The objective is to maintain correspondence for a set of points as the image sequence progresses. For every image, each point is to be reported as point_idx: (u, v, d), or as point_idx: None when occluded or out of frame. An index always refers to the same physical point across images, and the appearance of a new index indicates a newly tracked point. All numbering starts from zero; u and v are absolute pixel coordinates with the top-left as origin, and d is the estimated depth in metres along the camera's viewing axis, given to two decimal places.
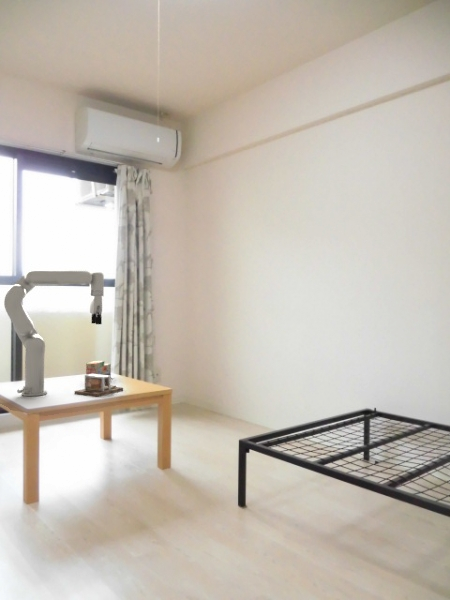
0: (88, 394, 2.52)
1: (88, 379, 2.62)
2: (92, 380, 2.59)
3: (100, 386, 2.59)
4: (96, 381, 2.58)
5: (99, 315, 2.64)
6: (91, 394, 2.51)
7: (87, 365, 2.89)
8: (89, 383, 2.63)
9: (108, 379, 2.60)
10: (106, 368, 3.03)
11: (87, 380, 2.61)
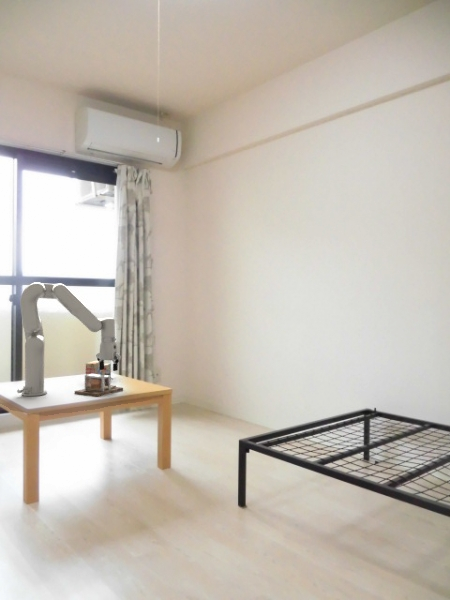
0: (88, 394, 2.52)
1: (88, 379, 2.62)
2: (92, 380, 2.59)
3: (100, 386, 2.59)
4: (96, 381, 2.58)
5: None
6: (91, 394, 2.51)
7: (86, 365, 2.90)
8: (89, 383, 2.63)
9: (108, 379, 2.60)
10: (106, 368, 3.03)
11: (87, 380, 2.61)
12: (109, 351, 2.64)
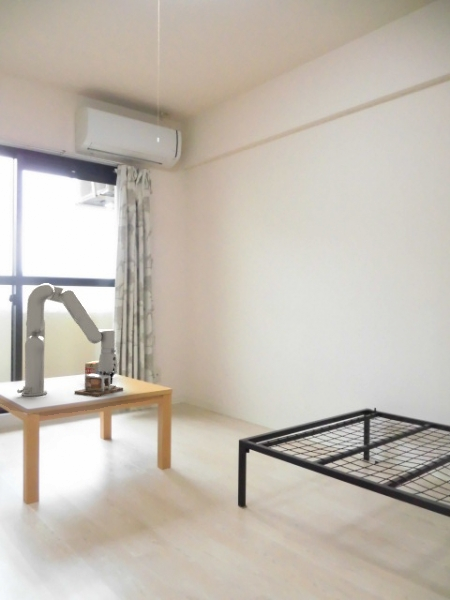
0: (88, 394, 2.52)
1: (88, 379, 2.62)
2: (92, 380, 2.59)
3: (100, 386, 2.59)
4: (96, 381, 2.58)
5: None
6: (91, 394, 2.51)
7: (86, 365, 2.90)
8: (89, 383, 2.63)
9: (108, 379, 2.60)
10: None
11: (87, 380, 2.61)
12: (108, 363, 2.64)
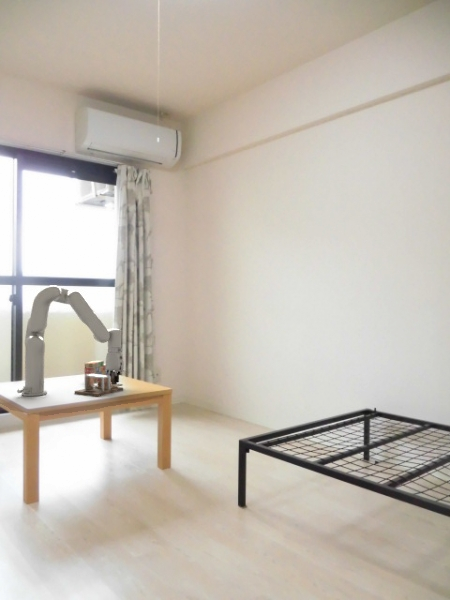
0: (88, 394, 2.52)
1: (88, 379, 2.62)
2: (99, 378, 2.64)
3: (107, 384, 2.64)
4: None
5: None
6: (91, 394, 2.51)
7: (85, 365, 2.90)
8: (89, 383, 2.63)
9: (108, 379, 2.60)
10: None
11: (87, 380, 2.61)
12: (115, 361, 2.69)
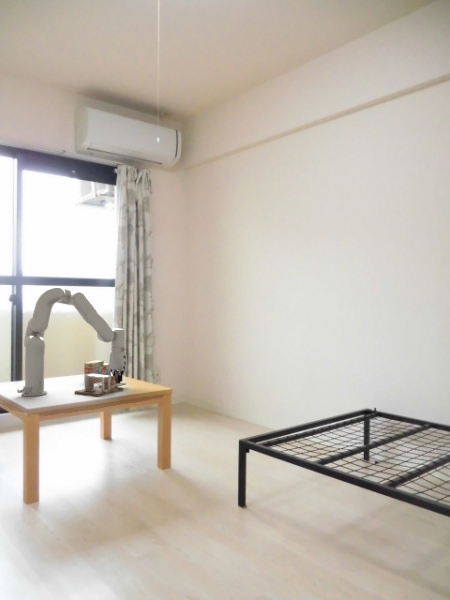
0: (88, 394, 2.52)
1: (88, 379, 2.62)
2: None
3: (111, 383, 2.67)
4: (107, 379, 2.65)
5: None
6: (91, 394, 2.51)
7: (85, 365, 2.91)
8: (89, 383, 2.63)
9: (108, 379, 2.60)
10: (106, 368, 3.04)
11: (87, 380, 2.61)
12: (119, 361, 2.72)
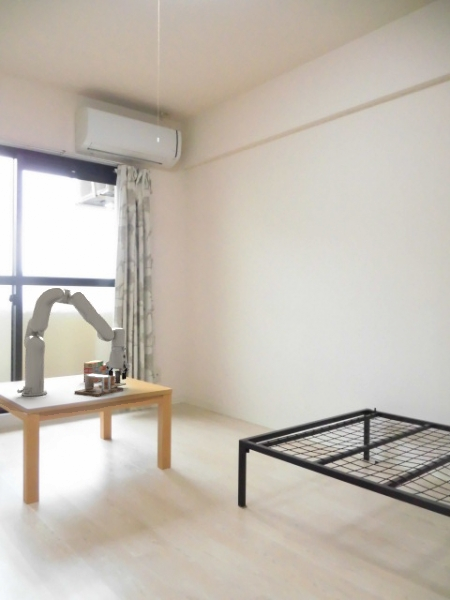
0: (88, 394, 2.52)
1: (88, 379, 2.62)
2: None
3: (111, 383, 2.67)
4: (107, 379, 2.66)
5: None
6: (91, 394, 2.51)
7: (85, 364, 2.91)
8: (89, 383, 2.63)
9: (108, 379, 2.60)
10: (105, 368, 3.04)
11: (87, 380, 2.61)
12: (119, 360, 2.72)
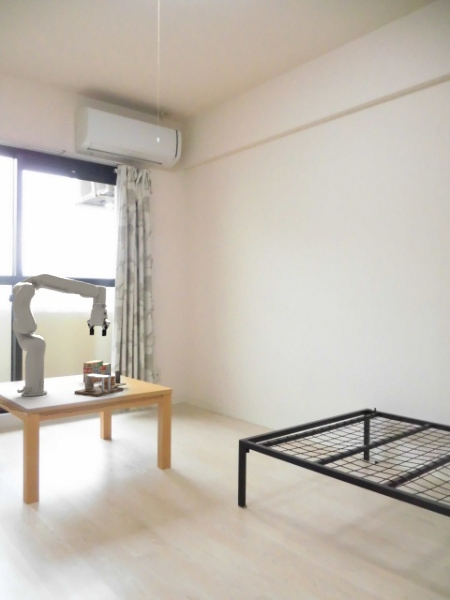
0: (88, 394, 2.52)
1: (88, 379, 2.62)
2: None
3: (111, 383, 2.67)
4: (107, 379, 2.66)
5: None
6: (91, 394, 2.51)
7: (84, 364, 2.92)
8: (89, 383, 2.63)
9: (108, 379, 2.60)
10: (105, 368, 3.04)
11: (87, 380, 2.61)
12: (99, 317, 2.77)
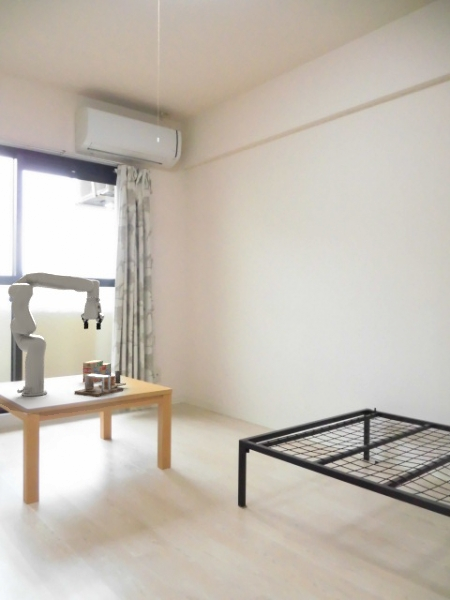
0: (88, 394, 2.52)
1: (88, 379, 2.62)
2: None
3: (111, 383, 2.67)
4: (107, 379, 2.66)
5: None
6: (91, 394, 2.51)
7: (84, 364, 2.92)
8: (89, 383, 2.63)
9: (108, 379, 2.60)
10: (105, 368, 3.04)
11: (87, 380, 2.61)
12: (93, 311, 2.79)
